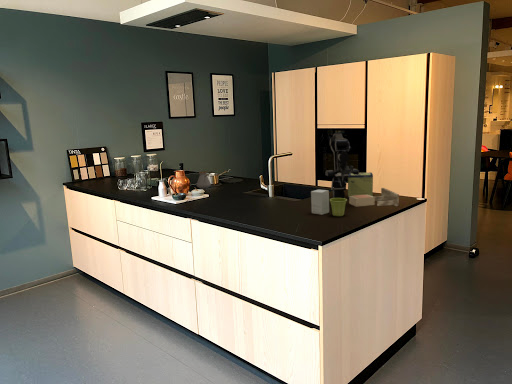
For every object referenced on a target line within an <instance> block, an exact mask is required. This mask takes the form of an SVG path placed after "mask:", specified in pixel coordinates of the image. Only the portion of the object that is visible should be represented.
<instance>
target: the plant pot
mask: <svg viewBox="0 0 512 384" xmlns="http://www.w3.org/2000/svg"><path fill="white" fill-rule="evenodd" d="M347 201H348V198H333V197H332V198H329V204H330V205H331V206H330V207H331V212H332V216H334V217H343V216H344V215H345V209H346V204H347Z"/></svg>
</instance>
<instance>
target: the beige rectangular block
mask: <svg viewBox="0 0 512 384" xmlns="http://www.w3.org/2000/svg"><path fill="white" fill-rule="evenodd" d="M375 197H376V196H370V195H368V194H367V195H354V196H349V199H348V200H349V201H348V202H349V203H348V204H349V205H351V206H354V207H355V208H356V207H367V206H375V204H376V203H375V202H376V201H375Z"/></svg>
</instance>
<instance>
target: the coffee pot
mask: <svg viewBox="0 0 512 384" xmlns="http://www.w3.org/2000/svg"><path fill="white" fill-rule="evenodd" d="M213 172H214V170H211V171H210V172H208V173H207V171H199V172H198V173H199V177H198V180H197V182H196V187H197V188H198V189H199V190H200V189H201V190H202V189H203V190H204V189H205V190H206V189H209V187H211V186H212V185H211V184H212V183H211V181H210V179H209V177H208V176H209V175H210V174H213Z"/></svg>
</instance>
